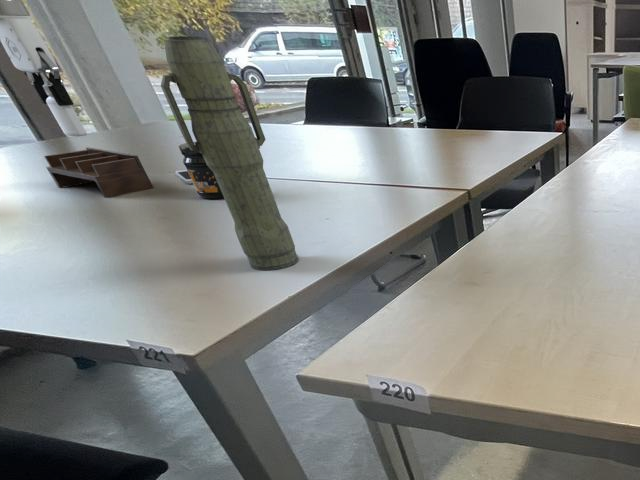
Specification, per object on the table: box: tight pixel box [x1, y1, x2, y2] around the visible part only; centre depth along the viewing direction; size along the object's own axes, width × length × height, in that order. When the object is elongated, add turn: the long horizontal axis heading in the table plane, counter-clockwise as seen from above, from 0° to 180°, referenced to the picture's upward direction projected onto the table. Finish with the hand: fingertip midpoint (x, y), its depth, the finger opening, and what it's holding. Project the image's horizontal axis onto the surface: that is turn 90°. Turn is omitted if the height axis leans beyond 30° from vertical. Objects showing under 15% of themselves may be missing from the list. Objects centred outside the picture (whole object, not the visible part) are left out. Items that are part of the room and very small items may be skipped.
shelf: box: [44, 146, 154, 198], centre depth 138 cm, size 12×22×8 cm, turn 65°
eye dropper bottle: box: [43, 79, 88, 137], centre depth 129 cm, size 4×6×12 cm
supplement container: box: [178, 141, 224, 200], centre depth 134 cm, size 10×10×12 cm
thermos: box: [160, 35, 300, 271], centre depth 90 cm, size 9×12×35 cm
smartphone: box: [174, 169, 193, 185], centre depth 151 cm, size 7×15×1 cm, turn 43°
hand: (58, 103), depth 128 cm, fingers closed on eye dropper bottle, 5 cm apart
